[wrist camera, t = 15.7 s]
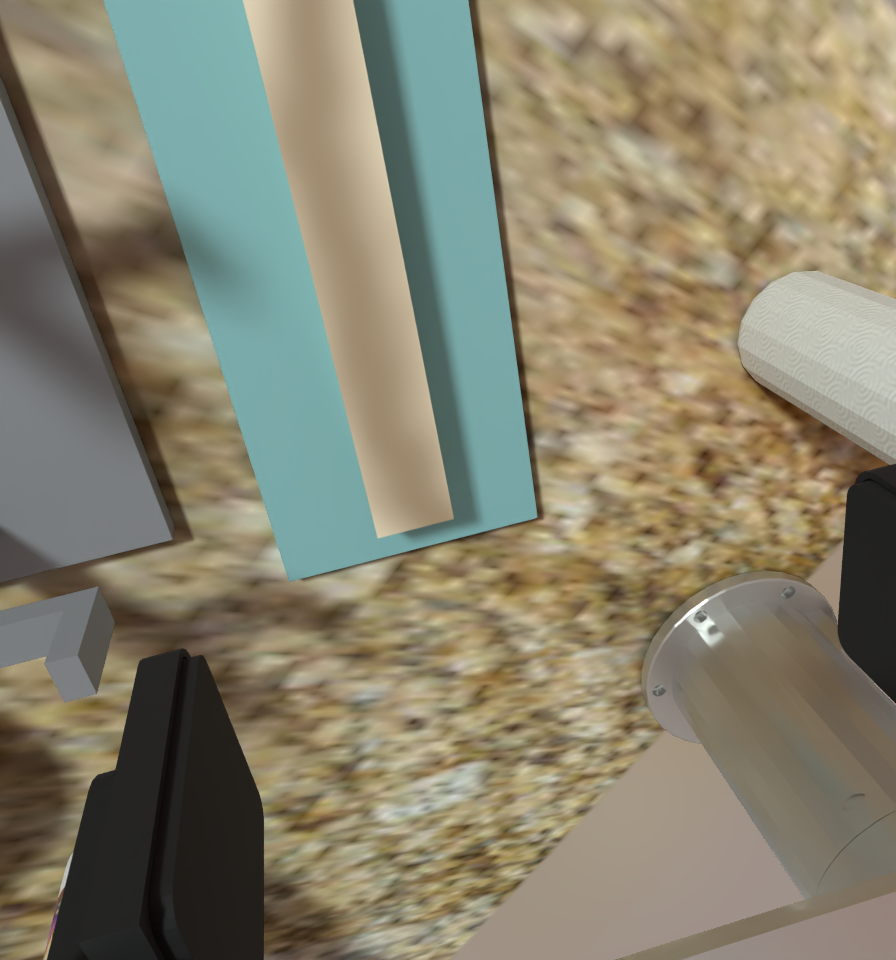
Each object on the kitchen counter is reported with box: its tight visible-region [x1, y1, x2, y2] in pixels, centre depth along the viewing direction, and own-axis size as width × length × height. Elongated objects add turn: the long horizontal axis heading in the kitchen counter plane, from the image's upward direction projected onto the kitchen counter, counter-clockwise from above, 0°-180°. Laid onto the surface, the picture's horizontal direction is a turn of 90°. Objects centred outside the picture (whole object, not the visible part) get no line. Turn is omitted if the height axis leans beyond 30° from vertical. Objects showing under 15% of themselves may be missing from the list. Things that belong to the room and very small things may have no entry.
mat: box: [104, 0, 537, 582], centre depth 35 cm, size 13×30×1 cm, turn 10°
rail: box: [243, 0, 454, 538], centre depth 33 cm, size 4×24×3 cm, turn 10°
